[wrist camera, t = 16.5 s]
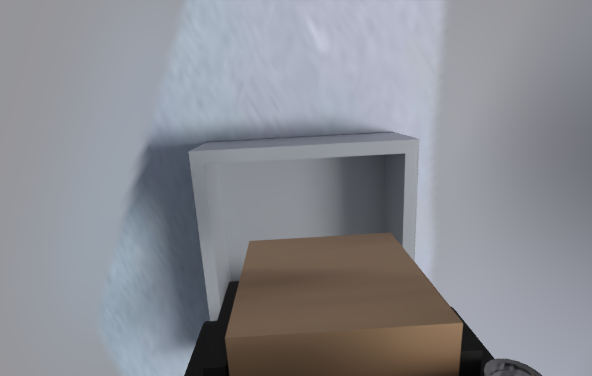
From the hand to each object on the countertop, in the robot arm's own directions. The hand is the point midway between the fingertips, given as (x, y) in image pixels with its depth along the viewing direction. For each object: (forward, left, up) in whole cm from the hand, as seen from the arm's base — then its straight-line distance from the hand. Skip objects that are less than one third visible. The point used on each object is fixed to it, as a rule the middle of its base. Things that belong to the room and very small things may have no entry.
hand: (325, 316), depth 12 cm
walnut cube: (0, 0, -1) cm, 1 cm away
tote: (-3, -3, -15) cm, 15 cm away
